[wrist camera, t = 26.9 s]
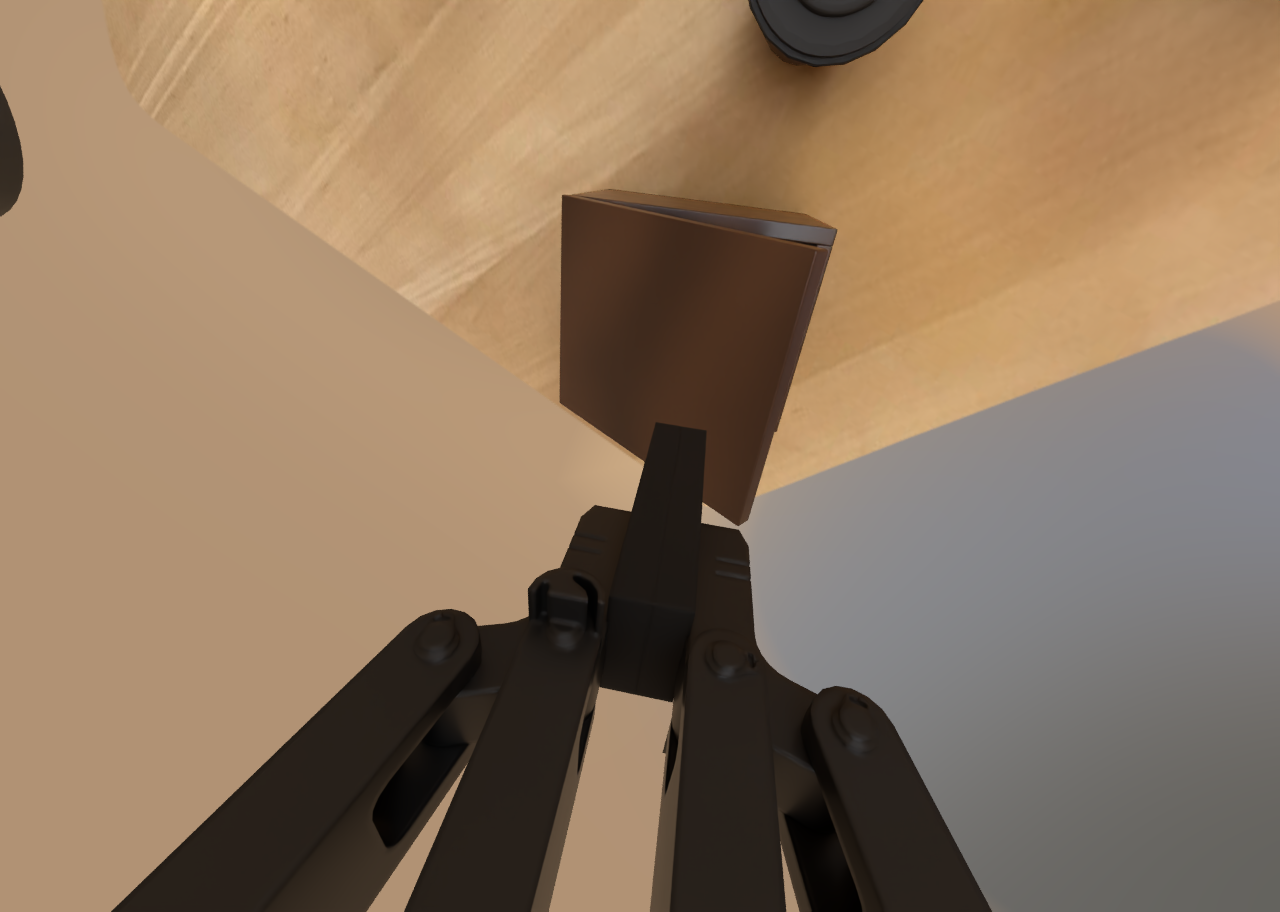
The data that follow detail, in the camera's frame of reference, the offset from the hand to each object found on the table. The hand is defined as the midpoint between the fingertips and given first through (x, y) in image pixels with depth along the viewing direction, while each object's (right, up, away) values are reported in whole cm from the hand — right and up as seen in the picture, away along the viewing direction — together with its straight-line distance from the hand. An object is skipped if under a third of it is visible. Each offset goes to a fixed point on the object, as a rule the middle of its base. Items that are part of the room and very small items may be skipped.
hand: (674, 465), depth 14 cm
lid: (0, +5, +8) cm, 10 cm away
